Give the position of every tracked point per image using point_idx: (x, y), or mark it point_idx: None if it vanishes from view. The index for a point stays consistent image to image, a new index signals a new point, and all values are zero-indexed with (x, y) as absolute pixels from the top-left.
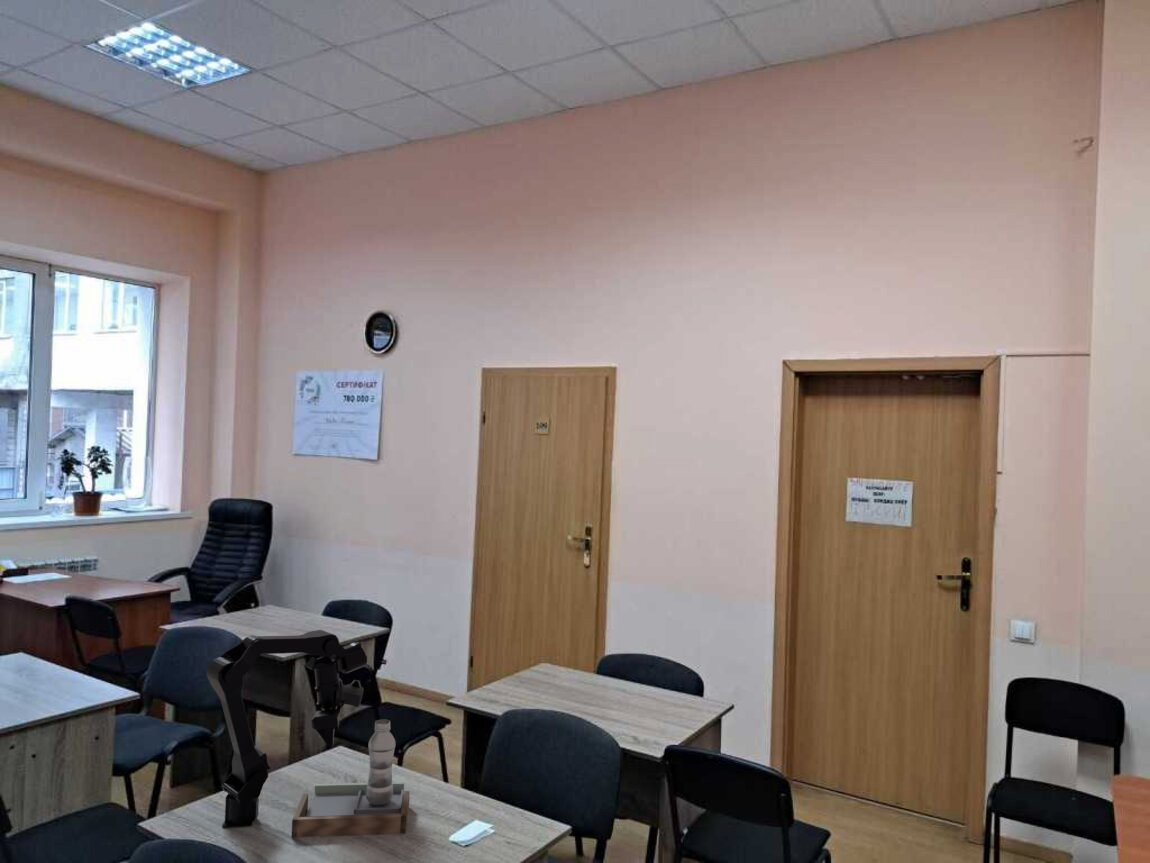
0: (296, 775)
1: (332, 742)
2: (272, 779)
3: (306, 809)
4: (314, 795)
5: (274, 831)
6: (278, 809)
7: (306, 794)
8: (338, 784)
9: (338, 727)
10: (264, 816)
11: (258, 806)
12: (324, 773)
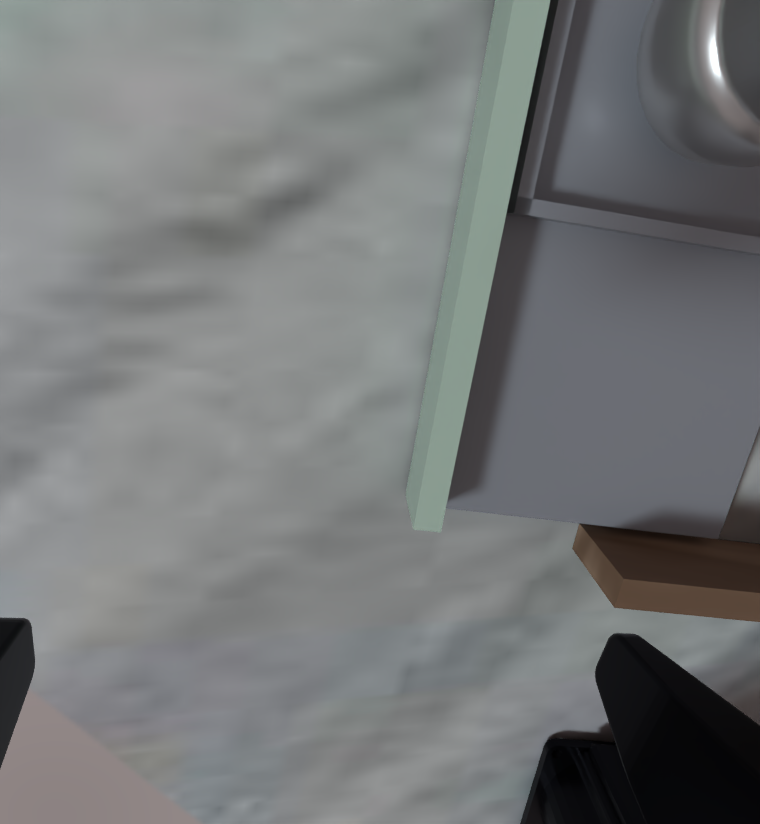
0: (82, 607)
1: (700, 689)
2: (132, 717)
3: (628, 539)
4: (458, 506)
5: (754, 652)
6: (523, 657)
7: (633, 588)
8: (460, 377)
9: (8, 638)
10: (580, 706)
11: (614, 781)
12: (57, 448)
